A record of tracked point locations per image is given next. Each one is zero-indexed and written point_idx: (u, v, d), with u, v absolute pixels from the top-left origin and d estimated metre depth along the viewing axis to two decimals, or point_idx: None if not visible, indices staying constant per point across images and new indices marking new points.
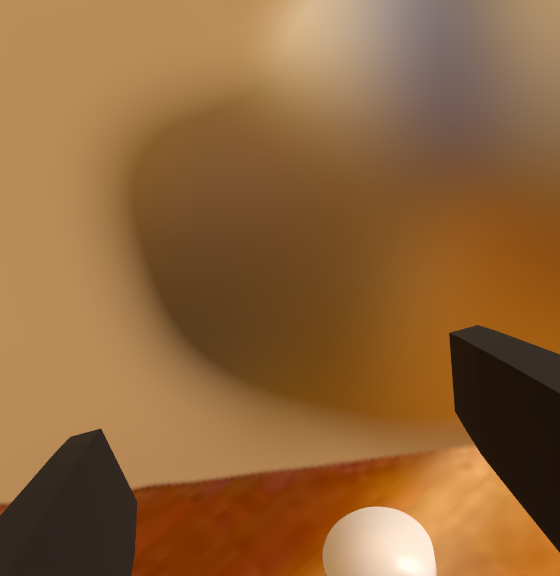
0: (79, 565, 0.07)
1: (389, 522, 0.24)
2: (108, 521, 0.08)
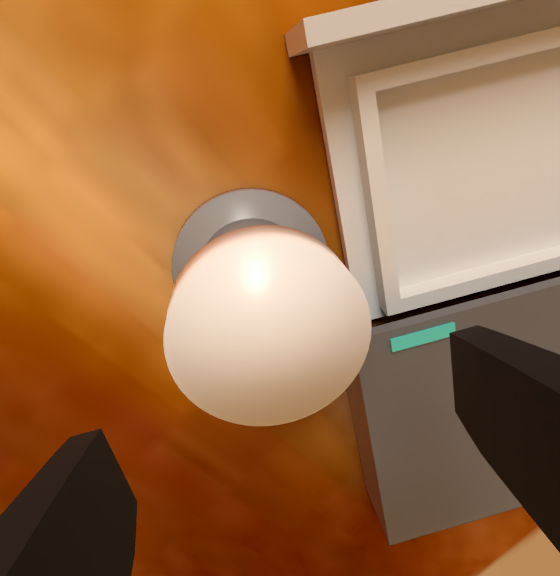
0: (79, 565, 0.07)
1: (206, 316, 0.12)
2: (108, 521, 0.08)
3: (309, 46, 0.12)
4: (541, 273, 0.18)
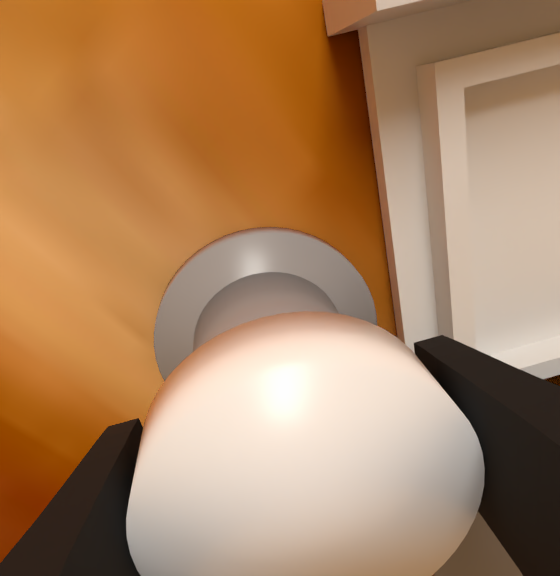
0: (126, 551, 0.07)
1: (203, 488, 0.06)
2: None
3: (379, 8, 0.07)
4: None
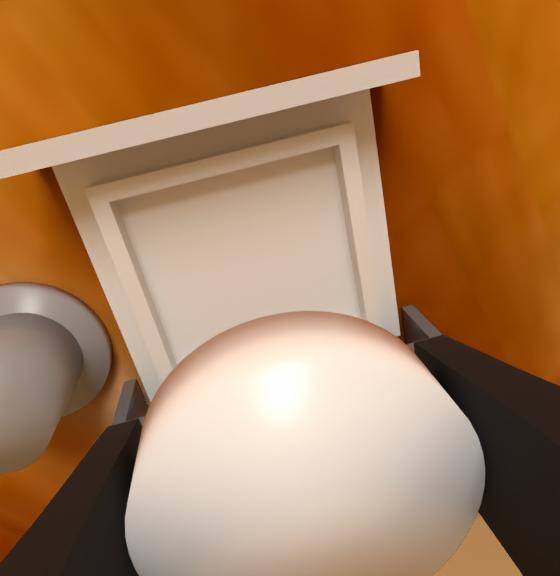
0: (126, 551, 0.07)
1: (202, 488, 0.06)
2: None
3: None
4: None
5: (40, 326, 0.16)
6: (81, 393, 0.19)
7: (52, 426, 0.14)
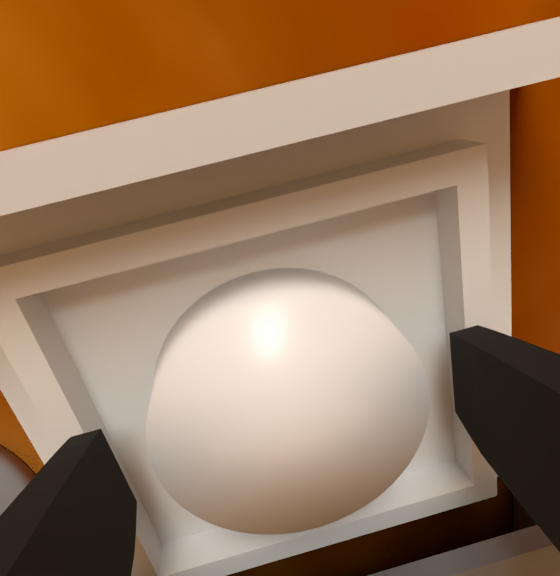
0: (79, 565, 0.07)
1: (206, 400, 0.08)
2: (108, 521, 0.08)
3: None
4: (394, 524, 0.11)
5: None
6: None
7: None
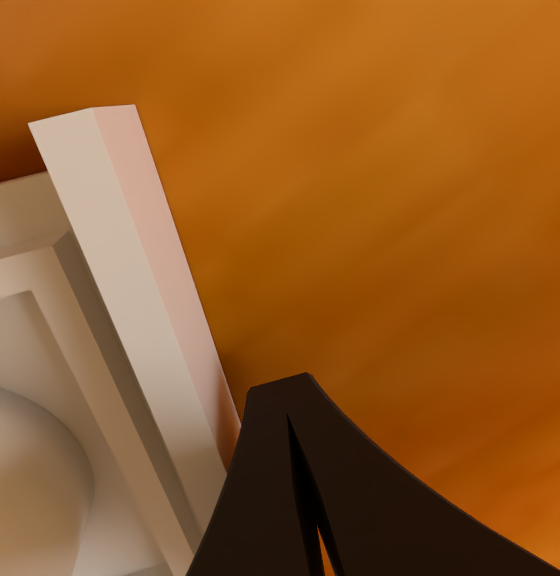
0: (304, 500, 0.07)
1: None
2: None
3: (32, 127, 0.05)
4: None
5: None
6: None
7: None
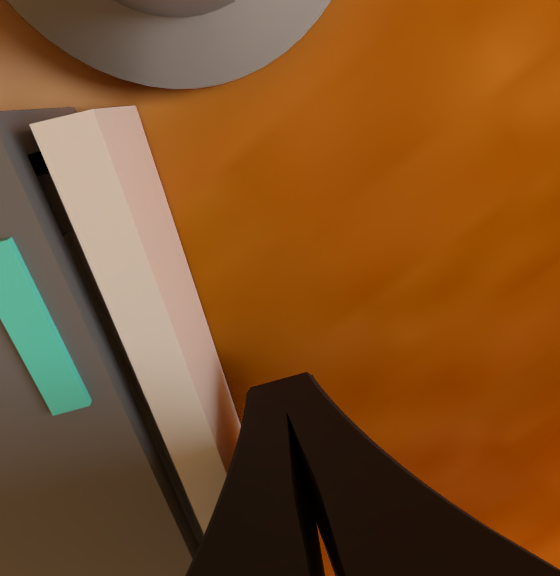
0: (304, 500, 0.07)
1: None
2: (301, 466, 0.08)
3: (33, 128, 0.05)
4: None
5: None
6: None
7: None
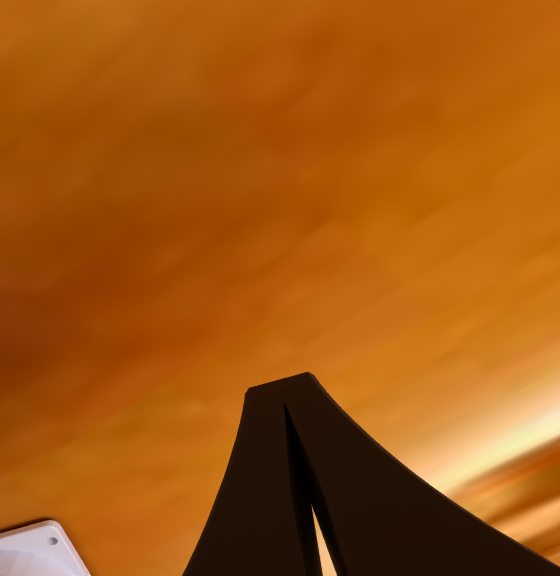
0: (302, 501, 0.07)
1: None
2: (299, 467, 0.08)
3: None
4: None
5: None
6: None
7: None
